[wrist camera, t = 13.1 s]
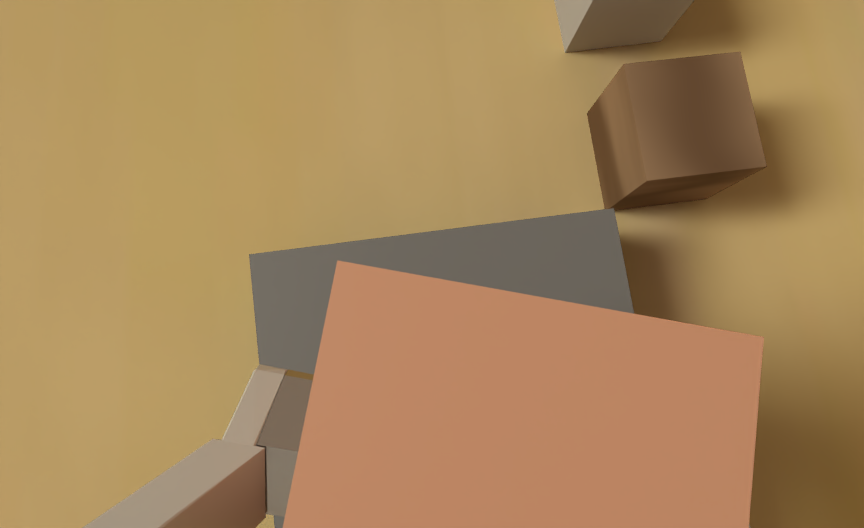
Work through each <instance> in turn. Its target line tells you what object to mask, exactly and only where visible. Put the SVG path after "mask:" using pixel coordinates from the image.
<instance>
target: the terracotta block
mask: <svg viewBox="0 0 864 528" xmlns="http://www.w3.org/2000/svg"><path fill="white" fill-rule="evenodd" d="M763 341H764V337H761V336H755V335H750V334H744V333H739V332H733V331H727V330H722V329H716V328H711V327H705V326H700V325H694V324H689V323H683V322H677V321H672V320H666V319H661V318H655V317H650V316H644V315H638V314H633V313H627V312H622V311H616V310H611V309H605V308H600V307H594V306H588V305H583V304H577V303H572V302H566V301H561V300H555V299H549V298H544V297H538V296H533V295H527V294H522V293H516V292H511V291H505V290H499V289H494V288H488V287H483V286H477V285H472V284H466V283H461V282H455V281H449V280H444V279H438V278H433V277H427V276H422V275H416V274H410V273H405V272H399V271H394V270H388V269H383V268H377V267H372V266H366V265H360V264H355V263H349V262H344V261H338V260H337V264H336V269H335V274H334V279H333V284H332V289H331V294H330V299H329V304H328V308H327V313H326V318H325V323H324V328H323V333H322V338H321V343H320V347H319V352H318V357H317V362H316V367H315V372H314V377H313V382H312V387H311V391H310V396H309V401H308V406H307V411H306V416H305V421H304V426H303V431H302V435H301V440H300V445H299V450H298V455H297V460H296V465H295V470H294V475H293V479H292V484H291V489H290V494H289V499H288V504H287V509H286V514H285V519H284V523H283V528H749V517H750V505H751V492H752V479H753V467H754V454H755V442H756V429H757V416H758V404H759V391H760V379H761V366H762V353H763Z"/></svg>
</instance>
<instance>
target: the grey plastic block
mask: <svg viewBox="0 0 864 528" xmlns="http://www.w3.org/2000/svg"><path fill="white" fill-rule="evenodd" d="M554 1H555V6H556V11H557V16H558V21H559V26H560V31H561V36H562V41H563V46H564V51H565V53H567V52H575V51H584V50H592V49H600V48H609V47H617V46H626V45H634V44H643V43H651V42H659V41H661V40H662V39H663V38H664V37H665V36H666V34H667V33H668V32H669V31H670V29H671V28H672V27H673V26H674V25H675V23H676V22H677V21H678V20H679V18H680V17H681V16H682V15H683V14H684V12H685V11H686V10H687V9H688V7H689V6H690V5H691V4H692V3H693V1H694V0H554Z"/></svg>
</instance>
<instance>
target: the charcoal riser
mask: <svg viewBox="0 0 864 528" xmlns="http://www.w3.org/2000/svg"><path fill="white" fill-rule="evenodd" d="M249 258H250V269H251V280H252V290H253V301H254V312H255V322H256V333H257V344H258V354H259V364H262V365H267V366H272V367H277V368H282V369H287V370H288V369H289V370H294V371H299V372H304V373H309V374H314V372H315V367H316V362H317V357H318V352H319V347H320V343H321V338H322V333H323V328H324V323H325V318H326V313H327V308H328V304H329V299H330V294H331V289H332V284H333V279H334V274H335V269H336V264H337V260H338V261H344V262H349V263H355V264H360V265H366V266H372V267H377V268H383V269H388V270H394V271H399V272H405V273H410V274H416V275H422V276H427V277H433V278H438V279H444V280H449V281H455V282H461V283H466V284H472V285H477V286H483V287H488V288H494V289H499V290H505V291H511V292H516V293H522V294H527V295H533V296H538V297H544V298H549V299H555V300H561V301H566V302H572V303H577V304H583V305H588V306H594V307H600V308H605V309H611V310H616V311H622V312H627V313H633V314H634V310H633V305H632V300H631V295H630V289H629V284H628V279H627V274H626V269H625V263H624V258H623V253H622V248H621V243H620V237H619V232H618V227H617V222H616V217H615V211H614V208H612V209H604V210H596V211H588V212H580V213H573V214H565V215H557V216H549V217H541V218H533V219H525V220H517V221H509V222H502V223H494V224H486V225H478V226H470V227H462V228H454V229H446V230H439V231H431V232H423V233H415V234H407V235H399V236H391V237H383V238H376V239H368V240H360V241H352V242H344V243H336V244H328V245H320V246H312V247H305V248H297V249H289V250H281V251H273V252H265V253H257V254H249ZM284 519H285V517H283V516H276V515H274V525H275V528H283V523H284Z"/></svg>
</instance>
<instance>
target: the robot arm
mask: <svg viewBox="0 0 864 528" xmlns="http://www.w3.org/2000/svg"><path fill="white" fill-rule="evenodd" d="M313 377H314V374H309V373H304V372H299V371H294V370H289V369H288V370H287V369H282V368H277V367H272V366H267V365H262V364H259V366H258V367H257V368H256V369H255V370H254V372H253V374H252V376H251V378H250V380H249V382H248V384H247V387H246V389H245V391H244V393H243V395H242V397H241V399H240V402H239V404H238V406H237V408H236V410H235V412H234V414H233V417H232V419H231V421H230V423H229V425H228V427H227V429H226V432H225V434H224V436H223V438H222V440H219V439H212V440H210V441H209V442H207V443H206V444H204V445H203V446H201V447H200V448H198V449H197V450H195V451H194V452H193V453H191V454H190V455H188V456H187V457H185V458H184V459H182V460H181V461H179V462H178V463H176V464H175V465H174V466H172V467H171V468H169V469H168V470H166V471H165V472H163V473H162V474H160V475H159V476H157V477H156V478H155V479H153V480H152V481H150V482H149V483H147V484H146V485H144V486H143V487H141V488H140V489H138V490H137V491H135V492H134V493H133V494H131V495H130V496H128V497H127V498H125V499H124V500H122V501H121V502H119V503H118V504H116V505H115V506H114V507H112V508H111V509H109V510H108V511H106V512H105V513H103V514H102V515H100V516H99V517H97V518H96V519H95V520H93V521H92V522H90V523H89V524H87V525H86V526H84V527H83V528H255V527H256V526H257V525H258V524H259V523H260V522H261V521H262V520H264V519H265V518H266V514H269V515H276V516H283V517H285V514H286V509H287V504H288V499H289V494H290V489H291V484H292V479H293V475H294V470H295V465H296V460H297V455H298V450H299V445H300V440H301V435H302V431H303V426H304V421H305V416H306V411H307V406H308V401H309V396H310V391H311V387H312V382H313ZM749 528H751V526H750V524H749Z"/></svg>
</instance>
